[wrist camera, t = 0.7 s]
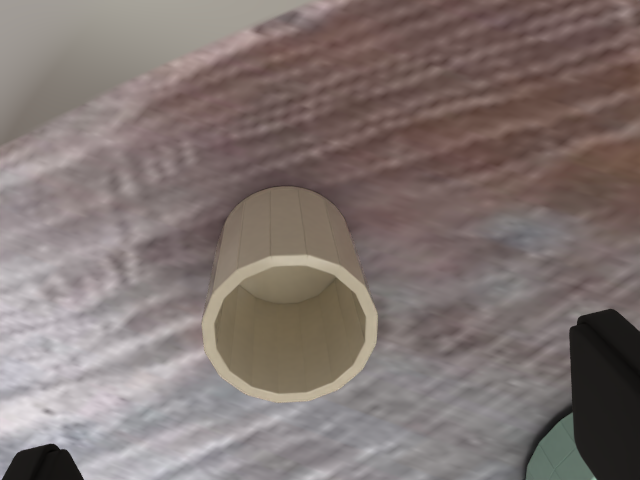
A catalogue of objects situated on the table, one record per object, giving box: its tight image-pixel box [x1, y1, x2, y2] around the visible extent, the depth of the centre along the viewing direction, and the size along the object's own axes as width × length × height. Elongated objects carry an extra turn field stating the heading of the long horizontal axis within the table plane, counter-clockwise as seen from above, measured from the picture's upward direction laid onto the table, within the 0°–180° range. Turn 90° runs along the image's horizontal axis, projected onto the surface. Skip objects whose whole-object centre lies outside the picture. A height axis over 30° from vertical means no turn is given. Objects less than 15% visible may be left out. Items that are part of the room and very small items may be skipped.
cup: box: [201, 186, 378, 403], centre depth 26 cm, size 7×7×8 cm
